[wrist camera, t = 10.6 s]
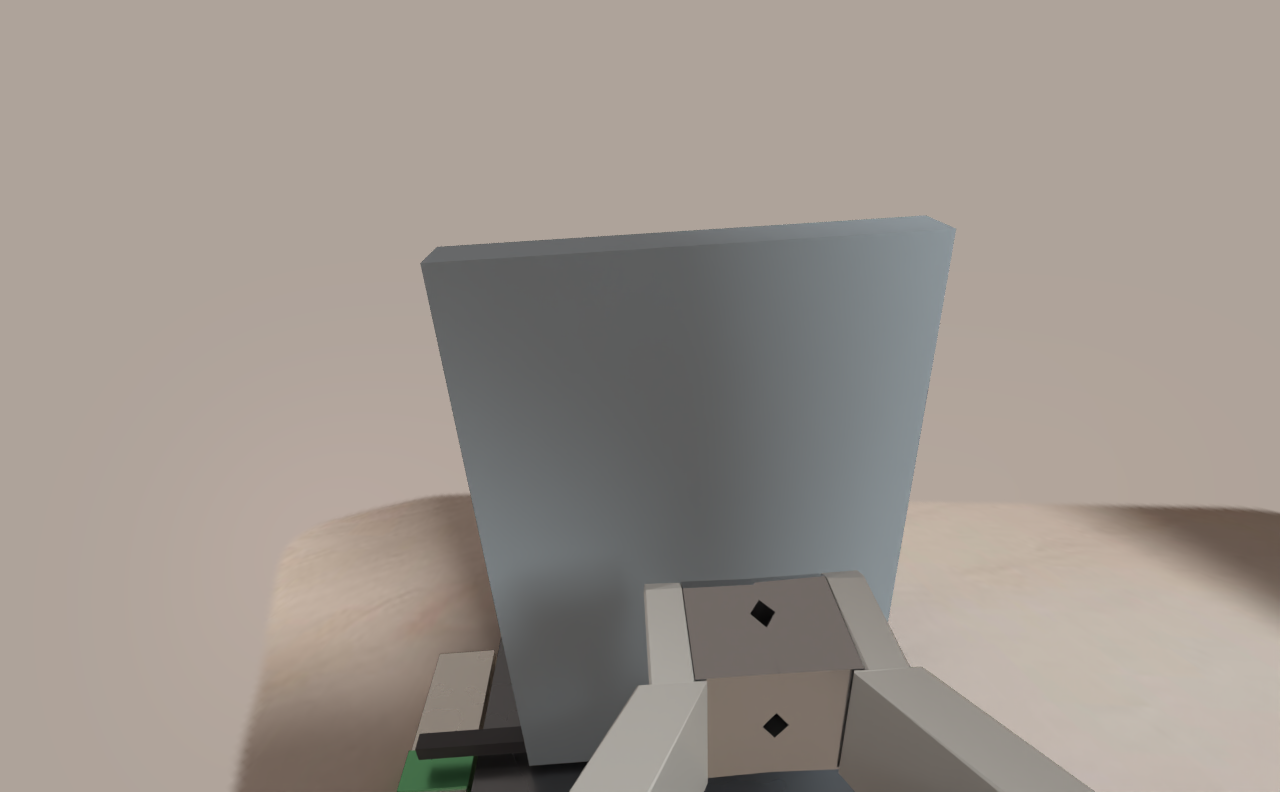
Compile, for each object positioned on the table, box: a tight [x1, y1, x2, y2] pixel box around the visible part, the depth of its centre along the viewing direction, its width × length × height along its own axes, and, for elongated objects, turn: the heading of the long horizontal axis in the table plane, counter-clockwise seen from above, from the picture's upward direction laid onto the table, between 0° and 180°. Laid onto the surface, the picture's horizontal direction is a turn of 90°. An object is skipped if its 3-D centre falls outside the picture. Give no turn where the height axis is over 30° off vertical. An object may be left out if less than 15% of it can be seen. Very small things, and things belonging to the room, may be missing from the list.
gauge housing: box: [397, 637, 855, 792], centre depth 22 cm, size 19×18×6 cm
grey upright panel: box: [415, 216, 956, 766], centre depth 19 cm, size 16×2×18 cm, turn 93°
